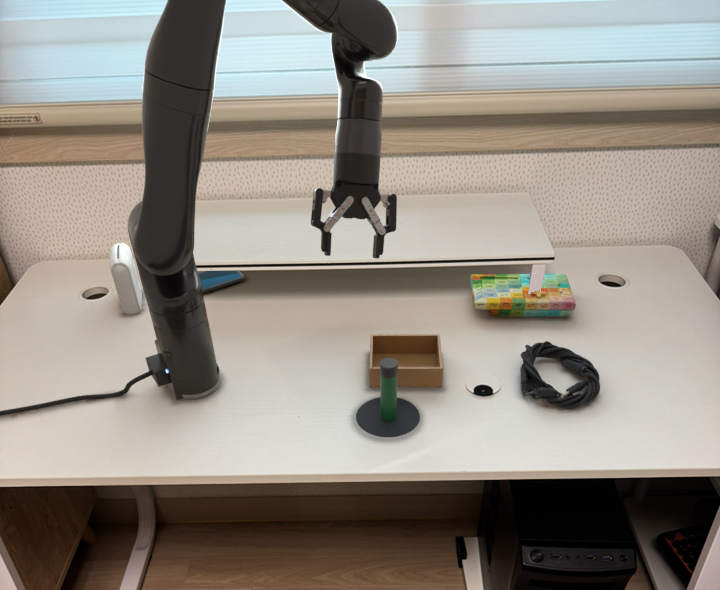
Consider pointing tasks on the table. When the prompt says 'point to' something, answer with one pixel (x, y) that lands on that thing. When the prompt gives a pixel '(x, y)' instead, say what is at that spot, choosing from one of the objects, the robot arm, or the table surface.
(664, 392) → the table surface
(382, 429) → the coaster
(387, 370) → the glue stick
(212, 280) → the smartphone
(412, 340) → the box
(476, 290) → the puzzle game
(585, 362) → the cable
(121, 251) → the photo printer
